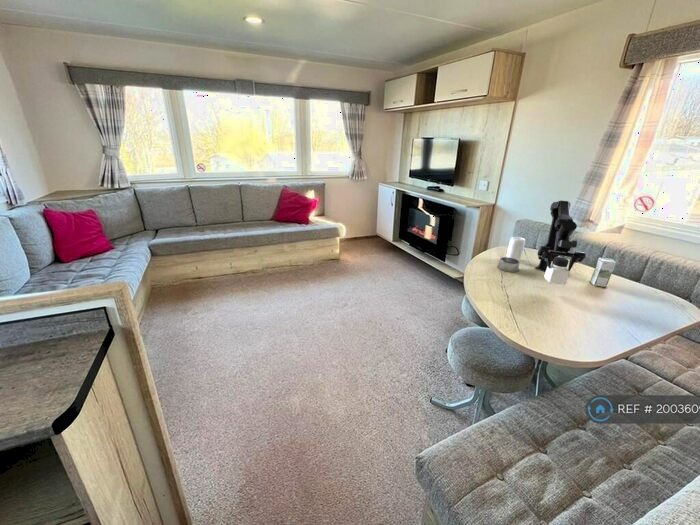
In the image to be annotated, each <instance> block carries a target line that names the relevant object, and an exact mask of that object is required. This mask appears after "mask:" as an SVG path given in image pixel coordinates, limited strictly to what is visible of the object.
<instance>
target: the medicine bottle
mask: <svg viewBox="0 0 700 525" xmlns="http://www.w3.org/2000/svg"><path fill="white" fill-rule="evenodd" d="M569 261H570V260H569V259H568V258H566V257H564V256H558V257H555V258H554V259H553V262H552V263H551V266H550V268H548V266H547V269H546V272H545V271H544V272H545V273H544V276H543V277H544V279H545V280H546V281H547V282H548V283H549V284H553V285H554V284H555V285H562V286H565V285H566V284H567V282H568V278H569V275H570V272H571V270H570V271H569V270H568V266H569Z"/></svg>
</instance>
